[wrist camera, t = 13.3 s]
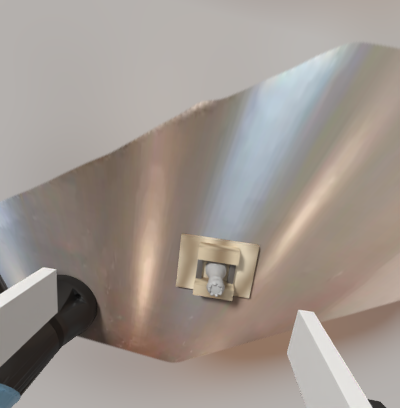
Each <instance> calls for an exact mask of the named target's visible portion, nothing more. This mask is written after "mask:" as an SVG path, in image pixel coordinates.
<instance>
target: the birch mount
mask: <svg viewBox="0 0 400 408" xmlns="http://www.w3.org/2000/svg"><path fill="white" fill-rule="evenodd" d="M258 252H259V245H256V244H250V243H243V242H236V241H230V240H223V239H216V238H210V237H203V236H196V235H190V234H183V233H182V236H181V245H180V254H179V263H178V272H177V281H176V286H177V287H183V288H189V289H193V295H198V296H204V297H210V298H216V299H222V300H228V301H232V298H233V296H238V297H244V298H249V296H250V291H251V286H252V281H253V276H254V271H255V266H256V261H257V256H258ZM208 261H212V262H218V263H225V264H226V267H227V270H226V271H227V272H226V275H225V277H224V278H223V279H222V280H223V284H224V286H225V289H224V292H223V293H222V294H221V296H220V295H218V297H215V295H213V296H211V295H210V293H209V292H208V291H207V288H206V286H207V283H208V280H209V278H208V276H207V275H206V270H205V267H206V264H207V263H208Z"/></svg>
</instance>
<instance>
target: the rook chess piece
mask: <svg viewBox="0 0 400 408" xmlns="http://www.w3.org/2000/svg"><path fill="white" fill-rule="evenodd" d="M205 270H206V275H207V276H208V278H209V280H208V283H207V286H206V288H207V291H208V292H209V293H210V295H211V296H213V295H215V297H218V295H220V296H221V294H222V293H223V292H224V289H225V286H224V284H223V280H222V279H223V278H224V277H225V275H226V272H227V271H226V270H227V267H226V264H225V263H218V262H212V261H208V263H207V264H206V267H205Z"/></svg>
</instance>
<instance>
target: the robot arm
mask: <svg viewBox="0 0 400 408" xmlns="http://www.w3.org/2000/svg"><path fill="white" fill-rule="evenodd" d="M96 311H97V306H96V301H95V298H94V296H93V294H92V292H91V291H90V289H89V288H88V287H87V286H86V285H85V284H84V283H82V282H81V281H79V280H78V279H76V278H73V277H71V276H67V275H57V274H56V269H50V268H44V267H43V268H41V269H40V270H38V271H36V272H35V273H33V274H32V275H30V276H28V277H27V278H25V279H24V280H22V281H20V282H19V283H17V284H15V285H14V286H12V287H11V288H9V289H8V288H7V286H6V284H5V282H4V280H3V279H2V277H1V275H0V408H11V407H12V406H13V405H14V404H15V403H17V402H18V401H19V399H20V397H21V395H22V394H23V393H24V392H25V391H26V389H27V388H28V387H29V386H30V385H31V383H32V382H33V381H34V380H35V378H36V377H37V376H38V375H39V374H40V372H41V371H42V370H43V369H44V367H45V366H46V365H47V364H48V363H49V361H50V360H51V359H52V358H53V357H54V355H55V354H56V353H57V352H58V351H59V349H60V348H61V347H62V346H63V345H65V344H66V343H67V342H69V341H70V340H72V339H73V338H74V337H76V336H77V335H79V334H81V333H82V332H84V331H85V330H86V329H87V328H88V326H89V325H90V324H91V322H92V321H93V320H94V318H95V315H96ZM287 355H288V358H289V361H290V363H291V366H292V369H293V372H294V375H295V378H296V380H297V383H298V386H299V389H300V392H301V395H302V398H303V400H304V403H305V406H306V408H386V407H385V406H384V405H383V404H382V403H381V402H379V401H374V400H369V399H367V398H366V396H365V395H364V393H363V391H362V390H361V388H360V386H359V385H358V383H357V382H356V380H355V378H354V377H353V375H352V374H351V372H350V370H349V369H348V367H347V365H346V364H345V362H344V361H343V359H342V357H341V356H340V354H339V352H338V351H337V349H336V348H335V346H334V344H333V343H332V341H331V340H330V338H329V336H328V335H327V333H326V331H325V330H324V328H323V327H322V325H321V323H320V322H319V320H318V318H317V317H316V315H315V314H314V312H310V311H304V310H298V313H297V317H296V321H295V324H294V328H293V332H292V336H291V340H290V343H289V347H288V351H287Z"/></svg>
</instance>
